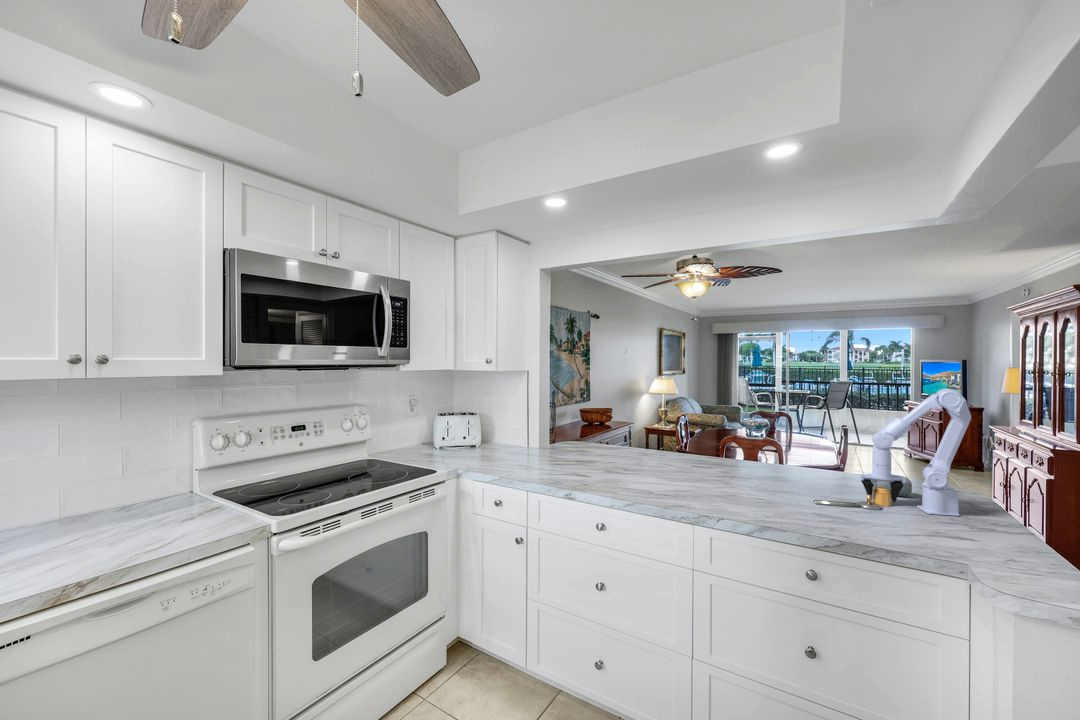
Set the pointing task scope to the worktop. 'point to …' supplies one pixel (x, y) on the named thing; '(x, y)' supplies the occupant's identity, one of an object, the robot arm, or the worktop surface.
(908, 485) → the grey rounded block
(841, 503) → the rod
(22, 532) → the worktop surface
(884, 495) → the wire nut
